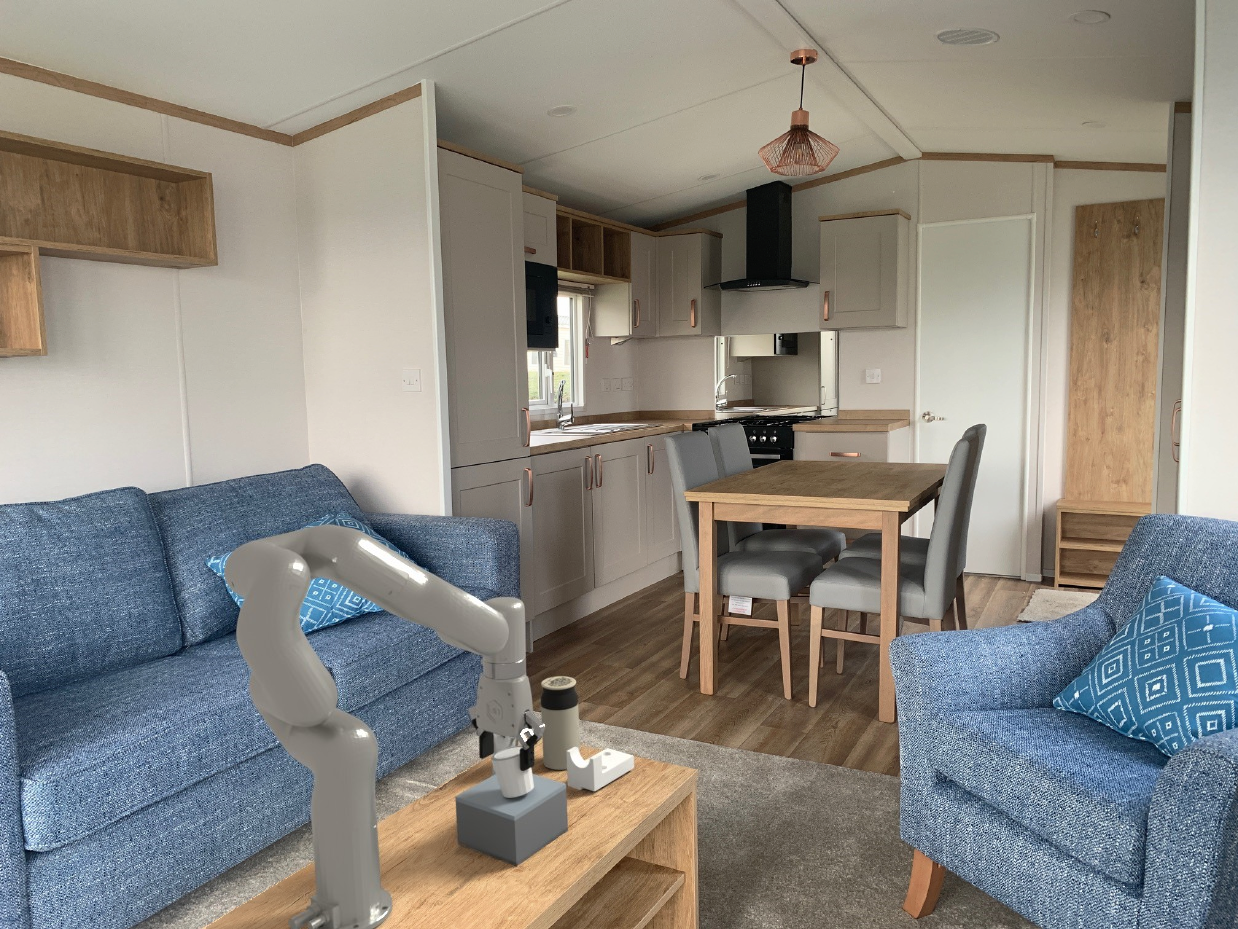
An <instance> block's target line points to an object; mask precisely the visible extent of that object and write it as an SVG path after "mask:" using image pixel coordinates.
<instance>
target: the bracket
mask: <svg viewBox="0 0 1238 929" xmlns="http://www.w3.org/2000/svg"><path fill="white" fill-rule="evenodd" d="M566 753H567V769H566V771H567V772H566V773H567V786H568V787H571V788H574V789H577V790H578V791H579V790H580V791H582V790H584V789H585V790H589V791H591V792H596V791H598V790H600V789H601V788H602V787H605V786H607V785H608V784H609V783H612V782H613V781H615V780H617V779H618V778H620V777H621V776H623V775H625V774H626V773H628V772H630V771H631V770H633V769H635V756H634V755H633V754H628V753H625V752H623V751H618V750H615V749H612V748H608V747H607V748H604V750H602V751H599V752H598V753H596V754H594V755H593V756H590V757H588V758H587V759H584V758H583V757H582V755H581V752H580V753H579V749H578V747H573V748H571V749H569V750H568V751H566Z"/></svg>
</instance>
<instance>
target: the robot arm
mask: <svg viewBox="0 0 1238 929" xmlns="http://www.w3.org/2000/svg"><path fill="white" fill-rule="evenodd" d="M223 574H224V580H225V582H226V584H227V586H228V587H229V588H230V590H231V591H232V592H233V593H235V594H236V595H238V596H239V597H242V598H244V599H243V602H242V604H241V607H240V611H239V613H238V618H237V624H236V632H235V633H236V634H235V635H236V642H237V646H238V649H239V651H240V653H241V656H242V657H243V660H244V661H245V663H246V664H247V666H248V667H249V670H250V671H251V673H250V676H249V682H248V690H249V695H250V698H251V699H250V700H251V702H252V703H253V705H254V706H255V708H256V710H257V711H258V713H259V714H260V716H261V717H262V719H263V720H264V721H265V723H266V724H267V726H268V727H269V729H270V730H271V732H272V733H273V734H274V736H275V737H276V738H277V740H278V741H279V742H280V744H281V746H282V747H283V748H284V749H285V751H286V752H287V753H288V754H289V755H290V756H291V757H293V758H294V759H295V760H296V761H297V762H299V763H300V764H302V766H305V767H307V769H309V770H310V771H312V773H313V775H314V783H313V785H314V786H313V789H312V794H311V800H310V818H311V819H310V820H311V828H312V844H313V846H312V847H313V859H314V874H315V875H314V876H315V888H316V889H315V890H316V893H315V894H313V895H311V896H310V899H309V900H310V904H309V905H308V906H306V908H305V910H304V911H302V912H300V913H298V914H296V915H295V916H293V917H291V918H290V919H288V927H289V928H290V929H302V928H303V927H305V926H307V929H375V928H377V927H378V926H380V925H381V924H382V923H383V922H384V921H385V920H386V919H387V918H388V917H389V916H390V914H391V912H392V910H393V896H392V895H391V893H390V892H389V891H388V890H387V889H385V888H383V887H382V879H381V865H380V849H379V848H380V847H379V846H380V845H379V829H378V814H377V812H378V811H377V801H376V777H377V776H376V775H377V768H378V761H379V760H378V759H379V745H378V744H379V743H378V741H377V738H376V735H375V733H374V732H373V730H372V729H371V727H369V725H367V723H365V722H364V721H363V720H362V719H360V718H358V717H356V716H354V715H353V714H350V713H348V712H346V711H343V710H341V709H340V708H338V707H337V704H338V699H339V698H338V688H337V685H336V682H335V680H334V678H333V677H332V675H331V673H330V672H329V671H328V669H327V668H326V667H325V665H324V664H323V662H322V661H321V659H320V658H319V656H318V654H317V653H316V652H315V650H314V648H313V647H312V645H311V644H310V642H309V640H308V638H307V637H306V634H305V633H304V631H303V629H302V626H301V622H300V618H301V617H300V614H301V610H302V607H303V604H304V602H305V600H306V597H307V595H308V592H309V590H310V586H311V581H313V580H316V579H319V578H323V579H326V580H329V581H332V582H334V583H337V584H338V585H340V586H342V587H344V588H346V589H348V590H349V591H351V592H353V593H355V594H356V595H358V596H360V597H362V598H363V599H366V600H367V601H369V602H371V603H372V604H374V605H376V606H378V607H379V608H381V609H383V610H384V611H385V612H388V613H390V614H392V615H394V616H397V617H399V618H400V619H403V620H406V621H408V622H410V623H414V624H418V625H420V626H424V627H427V628H429V629H432V630H434V631H435V633H436V634H437V636H438V638H439V639H440V640H441V641H442V642H444V643H445V644H447V645H449V646H451V647H454V648H457V649H460V650H463V651H468V652H470V653H473V654H476V655H479V656H482V657H481V659H480V664H481V665H482V668H483V672H482V673H481V674H480V676H479V681H478V685H477V690H476V691H477V695H476V704H475V705H473V706H470V707H469V708H468V709H467V710H468V714H469V716H470V718H471V724H472V726H473V727H474V729H475V734H476V736H477V737H478V751H479V752H478V754H479V759H481V760H484V759H485V758H488V757H490V756H493V753H494V734H498V735H501V736H505V737H509V738H515V737H517V738H518V740H519V745H520V746H522V747H523V748H521V749H520V770H521V771H525V770H527V769H529V768H531V769H532V768H533V767H535V762H536V761H535V746H536V745H537V744H538V743H539V741H540V740H541V739H542V734H543V732H544V730H545V725H544V724H543V723H542V720H540V719H539V718H538V717H537V716H536V715H535V714H534V709H533V706H534V705H533V697H532V689H531V684H530V680H529V676H527V657H526V652H527V651H526V649H527V648H526V611H525V610H526V609H525V604H524V602H523V601H522V600H521V599H519V598H517V597H512V596H499V597H494V598H490V599H488V600H484V601H482V600H481V599H479V598H478V597H476V596H474V595H472V594H470V593H468V592H467V591H464V590H462V588H460V587H458V586H455V585H453V584H451V583H450V582H448V581H446V580H444V579H443V578H441V577H439V576H437V575H436V574H434V573H432V572H429V571H427V570H426V569H424V568H422V567H421V566H419V565H417V564H416V563H414V562H413V561H411V560H409V559H408V558H406V557H404V556H402V555H400V554H399V553H398V552H397V551H394V550H393V549H391V548H390V547H388V546H387V545H385V544H383V543H382V542H380V541H379V540H377V539H375V538H374V537H372V536H370V535H369V534H367V533H365V532H363V531H361V530H359V529H356V528H352V527H349V526H348V527H347V526H341V525H336V524H320V525H316V526H309V527H305V528H302V529H298V530H294V531H290V532H286V533H282V534H281V533H280V534H277V535H273V536H272V535H271V536H269V537H263V538H258V539H255V540H251V541H247V542H246V543H244V544H241V545H240V546H238V547H237V548H235V549H234V550H233V551H232V553H231V554H230V555H229V556H228V557H227V560H226V562H225V565H224V571H223ZM493 733H494V734H493Z"/></svg>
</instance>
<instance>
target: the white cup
mask: <svg viewBox="0 0 1238 929" xmlns="http://www.w3.org/2000/svg"><path fill="white" fill-rule="evenodd" d="M521 748H523V747H522V746H521V745H519V746H514V747H510V748H506V749H504V750H501V751H499V752H497V753H495V754H494V755H493V754H492V755H491V757H490V760H491V763H492V767H494V770H495V773H496V776H497V779H498V782H499V785H500V788H501V791H502V794H503V796H504V797H507V798H512V797H517V796H521V795H524V794H526V793H528V792H530V791H531V790H532V789H533V788H534V783H533V776H532V774H533V770H532V767H531V768H529V769H527V770H525V771H521V770H520V749H521Z"/></svg>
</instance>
